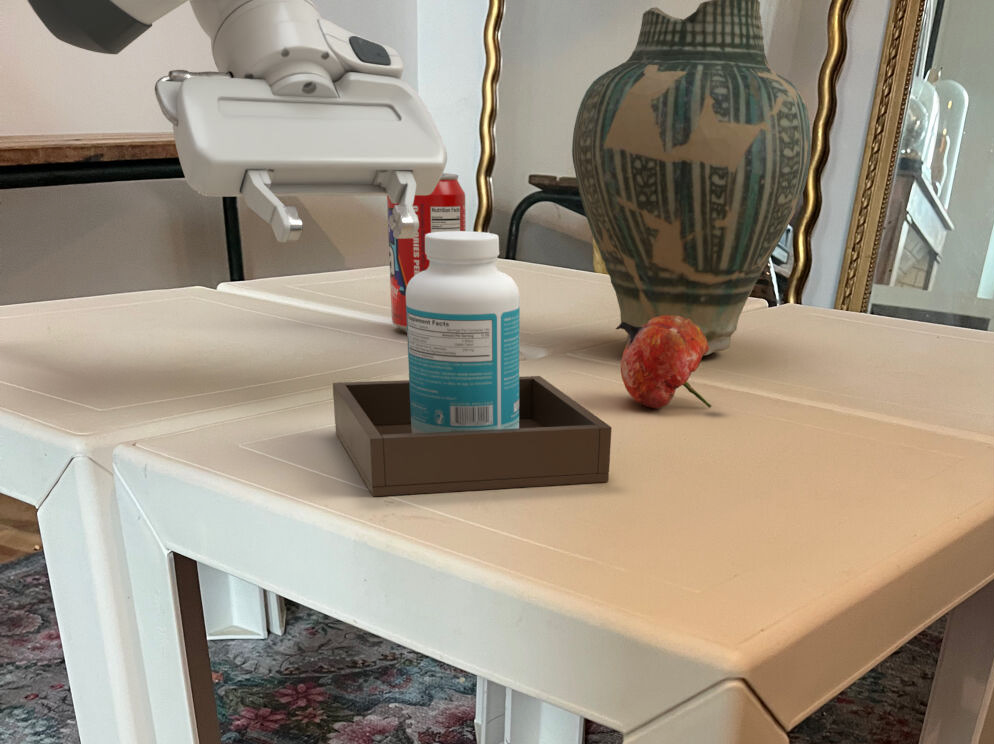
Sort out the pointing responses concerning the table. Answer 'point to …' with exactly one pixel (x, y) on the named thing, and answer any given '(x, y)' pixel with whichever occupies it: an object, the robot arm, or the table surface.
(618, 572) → the table surface
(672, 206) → the vase
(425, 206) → the soda can
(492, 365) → the pill bottle
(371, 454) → the holder
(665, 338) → the red lumpy rounded piece
